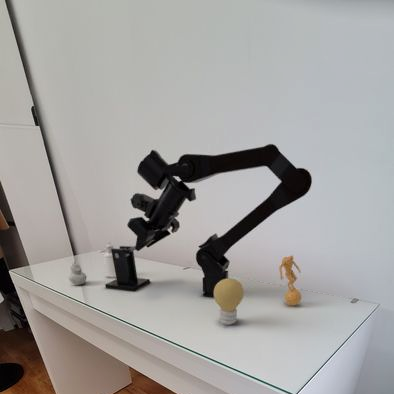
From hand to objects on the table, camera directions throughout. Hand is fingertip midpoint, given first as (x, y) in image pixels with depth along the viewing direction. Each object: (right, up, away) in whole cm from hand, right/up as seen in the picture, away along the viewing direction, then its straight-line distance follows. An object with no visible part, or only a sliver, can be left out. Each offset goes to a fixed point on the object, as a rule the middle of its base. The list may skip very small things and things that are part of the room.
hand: (141, 248), depth 84 cm
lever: (-3, -1, +2) cm, 3 cm away
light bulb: (+23, -24, -19) cm, 38 cm away
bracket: (-6, -9, +9) cm, 14 cm away
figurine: (+40, -18, -11) cm, 45 cm away
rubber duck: (-24, -8, +13) cm, 28 cm away
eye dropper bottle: (-13, -4, +19) cm, 23 cm away
